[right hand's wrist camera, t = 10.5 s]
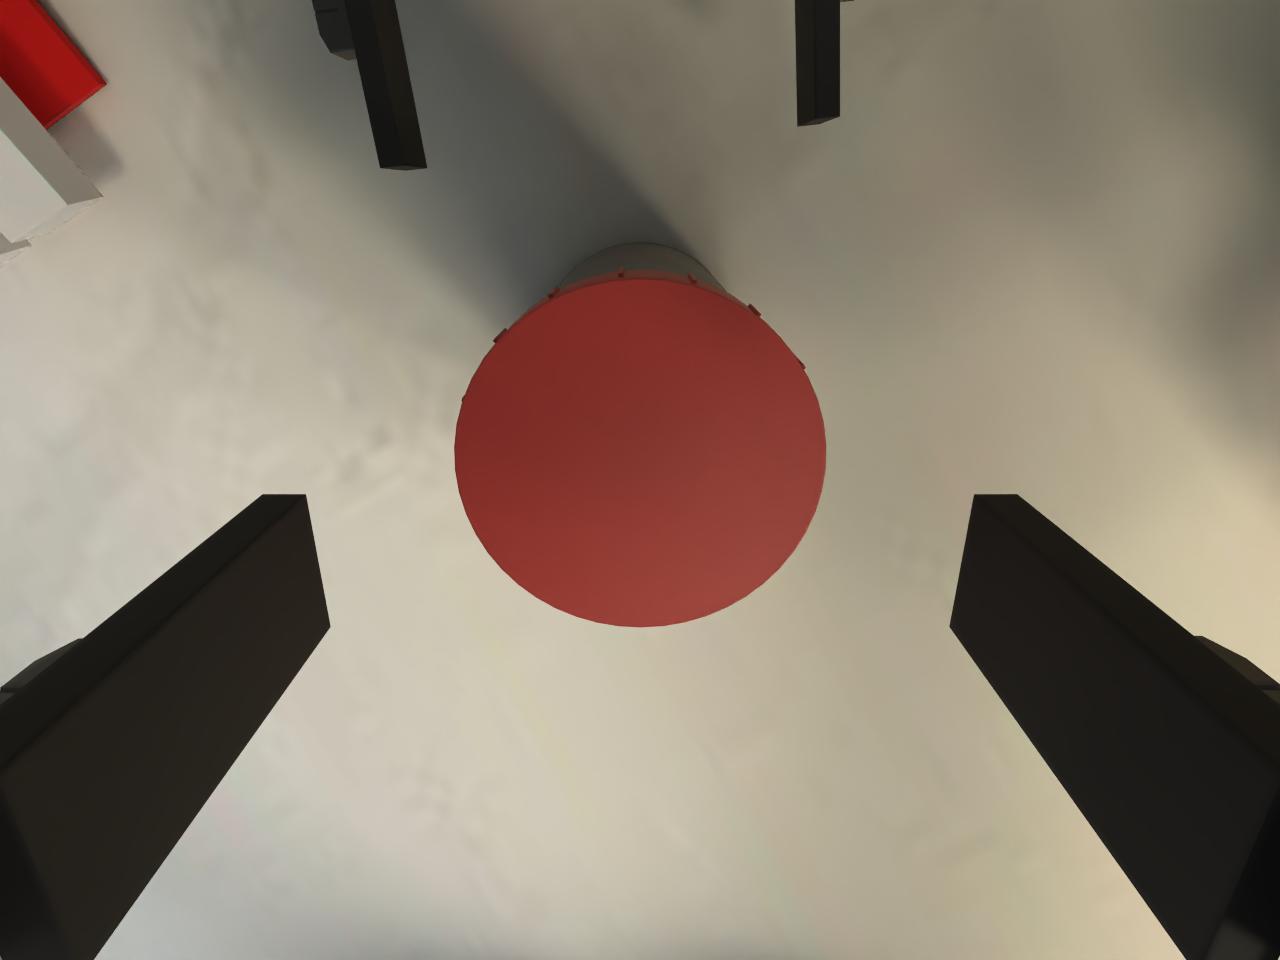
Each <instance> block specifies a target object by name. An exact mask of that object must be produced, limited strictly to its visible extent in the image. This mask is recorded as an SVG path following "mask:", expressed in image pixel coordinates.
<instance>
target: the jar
mask: <svg viewBox="0 0 1280 960" xmlns="http://www.w3.org/2000/svg"><path fill="white" fill-rule="evenodd" d="M621 267H624V271H628V270H653V271H665V272H670V273H675V274H680V275H685V276H688V274H689V273H690V274H693V275H694V277H695V278H696V279H697V280H700V281H703V282H706V283H709V284H711V285H713V286H715V287H717V288H719V289H721V290H723V291H725V290H724V288H723V287H722V286H721V285H720V284H719V283H718V282H717V280H716V279H715V278H714V277H713V276H712V275H711V273H710V272H709V271H708V270H706V269H705V268H704V267H703V266H702V265H701V264H700V263H698V262H697V261H696V260H694V259H693V258H691V257H690V256H688V255H686V254H684V253H682V252H680V251H678V250H675V249H673V248H670V247H667V246H663V245H658V244H653V243H628V244H622V245H618V246H613V247H610V248H608V249H605V250H602V251H600V252H598V253H596V254H594V255H592V256H591V257H589V258H588V259H586V260H585V261H583V262H582V263H581V264H579V265H578V266H577V267H576V268H575V269H574V270H573V271H572V272H571V273H570V274H569V275H568V276H567V277H566V278H565V280H564V281H563V282H562V283H561V284H560V285H559V287H558V288H559V290H560V289H561V288H563V287H565V286H567V285H569V284H572V283H575V282H578V281H580V280H583V279H586V278H589V277H591V276H596V275H601V274H605V273H610V272H615V271H619V268H621ZM725 292H726V291H725Z"/></svg>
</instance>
